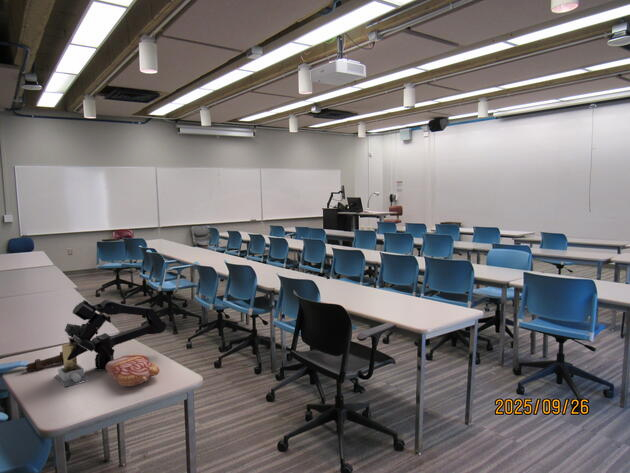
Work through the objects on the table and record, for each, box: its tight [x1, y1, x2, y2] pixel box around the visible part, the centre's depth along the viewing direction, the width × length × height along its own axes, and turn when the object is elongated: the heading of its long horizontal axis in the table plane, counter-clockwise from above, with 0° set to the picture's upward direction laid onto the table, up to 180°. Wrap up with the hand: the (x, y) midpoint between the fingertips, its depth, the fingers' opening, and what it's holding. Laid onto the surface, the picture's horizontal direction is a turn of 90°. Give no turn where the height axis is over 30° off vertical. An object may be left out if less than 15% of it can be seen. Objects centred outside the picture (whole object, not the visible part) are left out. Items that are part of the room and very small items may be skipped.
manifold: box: [55, 363, 91, 388], centre depth 177 cm, size 9×14×4 cm, turn 44°
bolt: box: [25, 351, 64, 372], centre depth 189 cm, size 6×5×15 cm
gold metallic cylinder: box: [61, 342, 78, 373], centre depth 178 cm, size 5×5×12 cm
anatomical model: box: [105, 353, 160, 387], centre depth 177 cm, size 17×7×30 cm
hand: (66, 358), depth 177 cm, fingers closed on gold metallic cylinder, 5 cm apart
